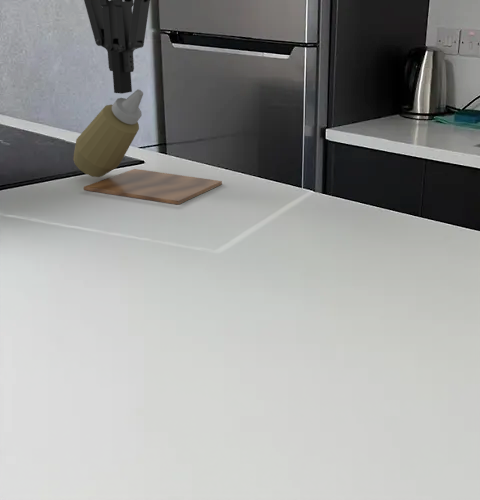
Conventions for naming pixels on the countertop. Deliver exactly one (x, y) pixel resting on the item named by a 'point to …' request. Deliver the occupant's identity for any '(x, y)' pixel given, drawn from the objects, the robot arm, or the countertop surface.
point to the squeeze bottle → (108, 136)
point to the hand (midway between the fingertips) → (123, 92)
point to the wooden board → (154, 186)
